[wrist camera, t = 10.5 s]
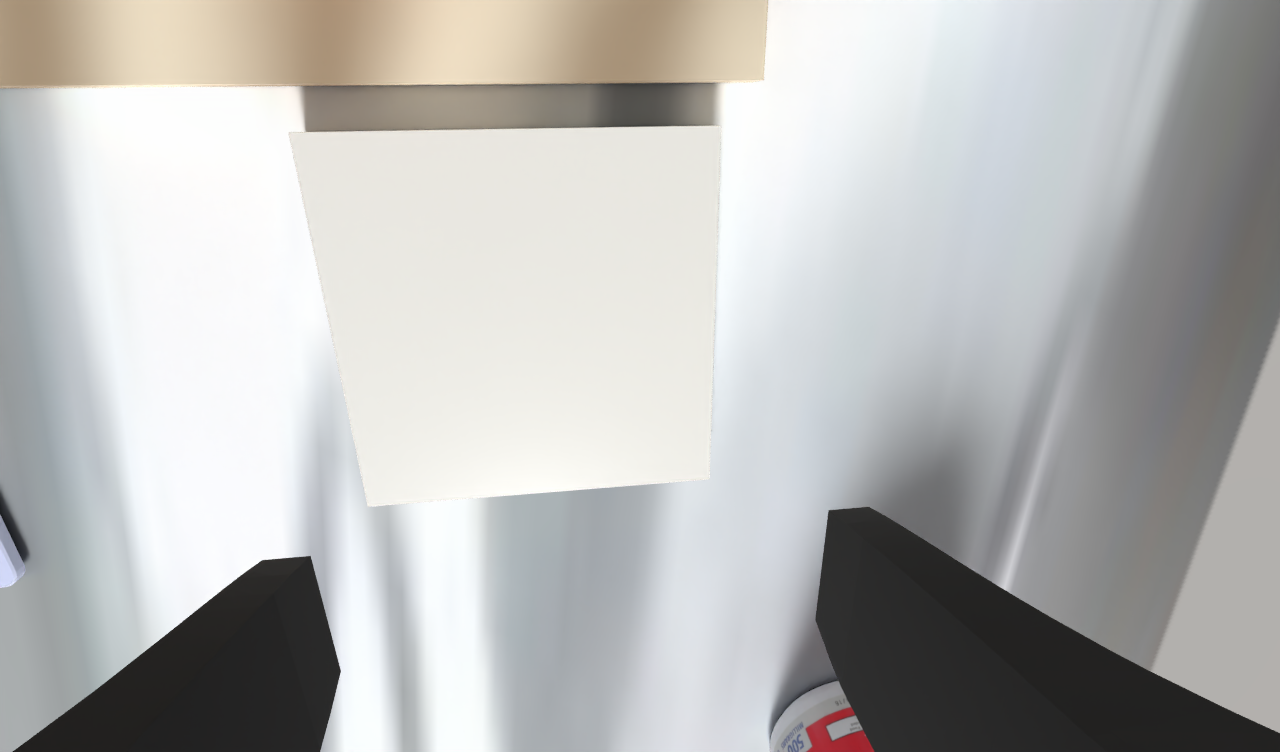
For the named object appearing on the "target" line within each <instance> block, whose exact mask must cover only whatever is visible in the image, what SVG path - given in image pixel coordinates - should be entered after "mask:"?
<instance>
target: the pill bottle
mask: <svg viewBox="0 0 1280 752" xmlns="http://www.w3.org/2000/svg"><path fill="white" fill-rule="evenodd" d="M770 752H874V750H873V748H872V746H871V744H870V742H869V740H868V738H867V737H866V735H865V733H864V731H863V729H862V727H861V725H860V723H859V721H858V719H857V717H856V715H855V713H854V711H853V710H852V708H851V706H850V704H849V702H848V700H847V698H846V696H845V694H844V692H843V690H842V688H841V686H840V683H839V681H835V682H831V683H828V684H825V685H822V686H820V687H817V688H815V689H813V690H810V691H809V692H807V693H805V694H803V695H802V696H800V697H799V698H798V699H796V700H795V701H794V702H793V703H792V704H791V705H790V706H789V707H788V708H787V709H786V710H785V711H784V713H783V714H782V715H781V717H780V718H779V720H778V721H777V723H776V725H775V727H774V729H773V732H772V735H771V740H770Z"/></svg>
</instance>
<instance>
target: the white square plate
mask: <svg viewBox="0 0 1280 752" xmlns="http://www.w3.org/2000/svg"><path fill="white" fill-rule="evenodd" d="M289 138H290V143H291V147H292V152H293V157H294V161H295V166H296V171H297V176H298V180H299V185H300V190H301V194H302V199H303V204H304V208H305V213H306V218H307V223H308V227H309V232H310V237H311V241H312V246H313V251H314V256H315V260H316V265H317V270H318V274H319V279H320V284H321V288H322V293H323V298H324V303H325V307H326V312H327V317H328V321H329V326H330V331H331V336H332V340H333V345H334V350H335V354H336V359H337V364H338V368H339V373H340V378H341V383H342V387H343V392H344V397H345V401H346V406H347V411H348V416H349V420H350V425H351V430H352V434H353V439H354V444H355V448H356V453H357V458H358V463H359V467H360V472H361V477H362V481H363V486H364V491H365V496H366V500H367V505H368V507H371V506H384V505H396V504H409V503H421V502H434V501H446V500H458V499H471V498H483V497H496V496H508V495H520V494H533V493H545V492H558V491H570V490H583V489H595V488H607V487H620V486H632V485H645V484H657V483H670V482H682V481H694V480H707V479H709V477H710V448H711V418H712V388H713V358H714V329H715V299H716V269H717V240H718V210H719V180H720V150H721V126H716V125H704V126H641V127H577V128H514V129H451V130H387V131H324V132H289Z"/></svg>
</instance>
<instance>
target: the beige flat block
mask: <svg viewBox="0 0 1280 752" xmlns="http://www.w3.org/2000/svg"><path fill="white" fill-rule="evenodd" d="M767 12H768V0H0V88H106V87H232V86H357V85H482V84H608V83H733V82H756V81H761V80H764V65H765V48H766V30H767Z"/></svg>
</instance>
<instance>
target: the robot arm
mask: <svg viewBox="0 0 1280 752" xmlns="http://www.w3.org/2000/svg"><path fill="white" fill-rule="evenodd" d="M24 573H25V566H24V563H23V561H22V559H21V557H20V555H19V553H18V551H17V549H16V546H15V544H14V542H13V540H12V538H11V536H10V534H9V532H8V530H7V528H6V526H5V524H4V522H3V519H2V517H1V515H0V588H3V587H7V586H11V585H12V584H14V583H15V582H16V581H17V580H18V579H20V578H21V577H22V576H23V575H24ZM816 623H817V625H818V628H819V631H820V634H821V636H822V639H823V642H824V644H825V647H826V650H827V653H828V655H829V658H830V660H831V663H832V666H833V668H834V671H835V673H836V676H837V678H838V681H839V683H840V686H841V688H842V690H843V692H844V694H845V696H846V698H847V700H848V702H849V704H850V706H851V708H852V710H853V711H854V713H855V715H856V717H857V719H858V721H859V723H860V725H861V727H862V729H863V731H864V733H865V735H866V737H867V738H868V740H869V742H870V744H871V746H872V748H873V750H874V752H1280V733H1278V732H1275V731H1274V730H1271V729H1269V728H1267V727H1265V726H1263V725H1260V724H1258V723H1256V722H1254V721H1251V720H1249V719H1247V718H1245V717H1243V716H1241V715H1239V714H1236V713H1234V712H1232V711H1230V710H1228V709H1226V708H1224V707H1222V706H1220V705H1218V704H1215V703H1213V702H1211V701H1209V700H1207V699H1205V698H1203V697H1201V696H1199V695H1197V694H1195V693H1193V692H1191V691H1189V690H1187V689H1185V688H1183V687H1181V686H1179V685H1177V684H1175V683H1172V682H1171V681H1168V680H1167V679H1165V678H1162V677H1160V676H1158V675H1156V674H1154V673H1152V672H1150V671H1148V670H1146V669H1144V668H1143V667H1141V666H1139V665H1137V664H1135V663H1133V662H1131V661H1129V660H1127V659H1125V658H1123V657H1121V656H1120V655H1118V654H1116V653H1114V652H1112V651H1110V650H1108V649H1107V648H1105V647H1103V646H1101V645H1099V644H1098V643H1096V642H1094V641H1092V640H1090V639H1089V638H1087V637H1085V636H1083V635H1081V634H1080V633H1078V632H1076V631H1074V630H1072V629H1071V628H1069V627H1067V626H1065V625H1063V624H1062V623H1060V622H1058V621H1056V620H1054V619H1053V618H1051V617H1049V616H1048V615H1046V614H1044V613H1042V612H1041V611H1039V610H1037V609H1036V608H1034V607H1032V606H1030V605H1029V604H1027V603H1025V602H1024V601H1022V600H1020V599H1019V598H1017V597H1015V596H1014V595H1012V594H1010V593H1009V592H1007V591H1005V590H1004V589H1002V588H1000V587H999V586H997V585H995V584H994V583H992V582H991V581H989V580H987V579H986V578H984V577H982V576H981V575H979V574H977V573H976V572H974V571H973V570H971V569H969V568H968V567H966V566H965V565H963V564H961V563H960V562H958V561H957V560H955V559H953V558H952V557H950V556H949V555H947V554H946V553H944V552H942V551H941V550H939V549H938V548H936V547H934V546H933V545H931V544H930V543H928V542H926V541H925V540H923V539H922V538H920V537H918V536H917V535H915V534H914V533H912V532H910V531H909V530H907V529H906V528H904V527H902V526H901V525H899V524H897V523H896V522H894V521H893V520H891V519H889V518H887V517H886V516H884V515H882V514H881V513H879V512H877V511H875V510H873V509H871V508H870V507H862V508H851V509H839V510H829V512H828V520H827V528H826V537H825V545H824V553H823V562H822V570H821V578H820V586H819V595H818V603H817V611H816ZM340 672H341V670H340V666H339V663H338V659H337V655H336V651H335V647H334V644H333V640H332V636H331V632H330V628H329V625H328V621H327V617H326V613H325V609H324V606H323V602H322V598H321V594H320V590H319V587H318V583H317V579H316V575H315V571H314V568H313V564H312V560H311V556H306V557H295V558H283V559H272V560H262V561H261V562H259V563H258V564H256V565H255V566H254V567H252V568H251V569H249V570H248V571H247V572H245V573H244V574H243V575H241V576H240V577H239V578H237V579H236V580H235V581H233V582H232V583H231V584H230V585H228V586H227V587H226V588H224V589H223V590H222V591H221V592H219V593H218V594H217V595H215V596H214V597H213V598H212V599H210V600H209V601H208V602H207V603H205V604H204V605H203V606H202V607H200V608H199V609H198V610H197V611H195V612H194V613H193V614H192V615H190V616H189V617H188V618H187V619H185V620H184V621H183V622H182V623H180V624H179V625H178V626H177V627H175V628H174V629H173V630H172V631H170V632H169V633H168V634H167V635H165V636H164V637H163V638H161V639H160V640H159V641H158V642H156V643H155V644H154V645H153V646H151V647H150V648H149V649H147V650H146V651H145V652H144V653H142V654H141V655H140V656H139V657H137V658H136V659H135V660H134V661H132V662H131V663H130V664H128V665H127V666H126V667H125V668H123V669H122V670H121V671H120V672H118V673H117V674H116V675H114V676H113V677H112V678H111V679H109V680H108V681H107V682H106V683H104V684H103V685H102V686H100V687H99V688H98V689H97V690H95V691H94V692H93V693H91V694H90V695H89V696H87V697H86V698H85V699H83V700H82V701H80V702H79V703H78V704H76V705H75V706H74V707H72V708H71V709H70V710H68V711H67V712H66V713H64V714H63V715H62V716H60V717H59V718H58V719H56V720H55V721H54V722H52V723H51V724H49V725H48V726H47V727H45V728H44V729H43V730H41V731H40V732H39V733H37V734H36V735H35V736H33V737H32V738H31V739H29V740H28V741H27V742H25V743H24V744H23V745H21V746H20V747H18V748H17V749H16V750H14V751H13V752H320V750H321V746H322V742H323V739H324V735H325V731H326V728H327V724H328V720H329V717H330V713H331V709H332V705H333V701H334V697H335V693H336V689H337V684H338V680H339V676H340Z"/></svg>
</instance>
